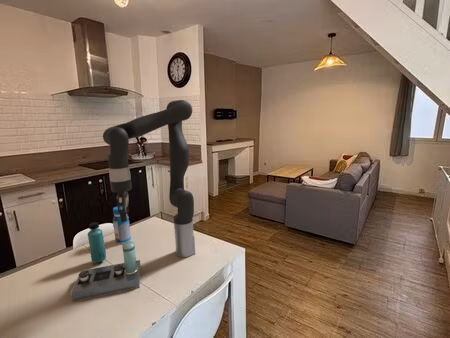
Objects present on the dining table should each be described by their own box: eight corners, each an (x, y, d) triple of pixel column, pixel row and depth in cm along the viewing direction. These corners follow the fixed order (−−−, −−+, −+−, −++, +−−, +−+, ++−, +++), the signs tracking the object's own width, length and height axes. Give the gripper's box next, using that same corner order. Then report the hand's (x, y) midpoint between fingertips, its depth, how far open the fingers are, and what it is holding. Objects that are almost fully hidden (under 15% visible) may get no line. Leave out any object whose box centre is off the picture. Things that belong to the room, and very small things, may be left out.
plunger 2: (124, 273, 103) (123, 263, 102) (123, 278, 100) (122, 268, 99) (115, 275, 102) (114, 265, 101) (114, 280, 99) (113, 270, 98)
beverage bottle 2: (127, 244, 132) (123, 210, 128) (112, 244, 132) (108, 210, 128) (133, 237, 140) (129, 204, 136) (119, 237, 140) (115, 205, 137)
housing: (140, 267, 110) (139, 259, 109) (139, 287, 97) (138, 278, 96) (82, 279, 103) (80, 270, 102) (72, 301, 90) (70, 291, 89)
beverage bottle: (100, 266, 112) (94, 226, 108) (88, 265, 113) (82, 226, 109) (109, 258, 118) (104, 221, 114) (98, 257, 120) (92, 220, 116)
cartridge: (137, 265, 105) (134, 240, 102) (136, 271, 100) (133, 245, 98) (126, 267, 103) (122, 242, 101) (124, 274, 99) (121, 247, 96)
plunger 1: (91, 280, 99) (89, 269, 98) (89, 285, 96) (87, 275, 95) (81, 282, 98) (79, 271, 97) (79, 287, 95) (77, 276, 94)
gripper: (129, 181, 88) (133, 222, 92) (131, 174, 102) (135, 210, 105) (107, 184, 86) (112, 225, 89) (112, 175, 100) (117, 212, 103)
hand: (125, 217), depth 97 cm, fingers open, 8 cm apart
